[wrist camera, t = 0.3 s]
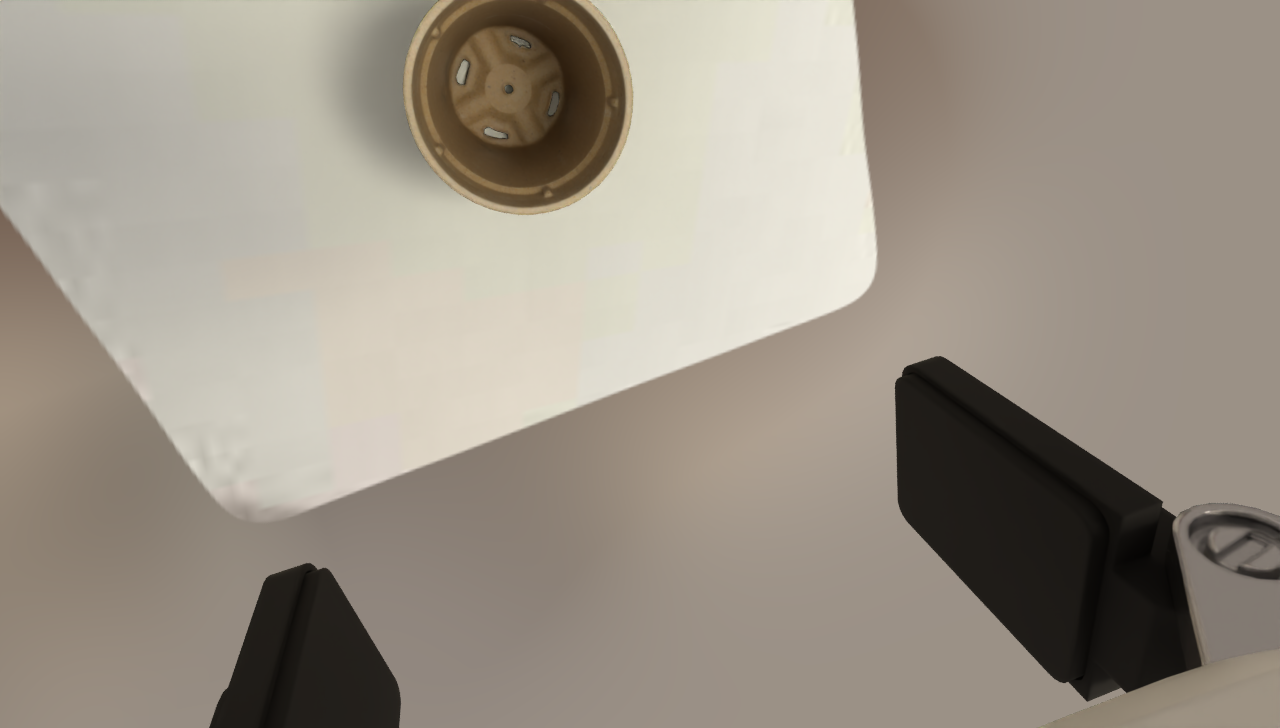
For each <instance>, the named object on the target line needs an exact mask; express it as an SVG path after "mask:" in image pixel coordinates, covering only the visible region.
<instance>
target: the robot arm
mask: <svg viewBox="0 0 1280 728" xmlns="http://www.w3.org/2000/svg"><path fill="white" fill-rule="evenodd" d="M895 402H896V404H895V405H896V443H897V444H896V445H897V486H898V504H899V507H900V510H901V512H902V515H903V516H904V518H905V519H906V521H907V522H908V523H909V524H910V525H911V526H912V527H913V528H914V530H916V532H917V533H918V534H919V535H920V536H921V537H922V538H923V539H924V540H925V541H926V542H927V543H928V545H929V546H930V547H931V548H932V549H933V550H934V551H935V552H936V553H937V554H938V555H939V556H940V557H941V558H942V560H943V561H944V562H946V564H947V565H948V566H949V567H950V568H951V569H952V570H953V571H954V572H955V573H956V575H957V576H959V578H960V579H961V580H962V581H963V582H964V583H965V584H966V585H967V586H968V587H969V588H970V589H971V591H972V592H973V593H974V594H975V595H976V596H977V597H978V598H979V599H980V600H981V601H982V602H983V603H984V605H985V606H986V607H987V608H988V609H989V610H990V611H991V612H992V613H993V614H994V615H995V616H996V617H997V618H998V619H999V621H1000V622H1001V623H1002V624H1003V625H1004V626H1005V627H1006V628H1007V629H1008V630H1009V631H1010V632H1011V634H1013V636H1014V637H1015V638H1016V639H1017V640H1018V641H1019V642H1020V643H1021V644H1022V645H1023V646H1024V647H1025V648H1026V650H1027V651H1028V652H1029V653H1030V654H1031V655H1032V656H1033V657H1034V658H1035V659H1036V660H1037V661H1038V662H1039V664H1040V665H1042V667H1043V668H1044V669H1045V670H1046V671H1047V672H1048V673H1049V674H1050V675H1051V676H1052V677H1053V678H1054V679H1056V680H1058V681H1059V682H1062V683H1066V682H1069V683H1070V684H1071V685H1072V686H1073V687H1074V688H1075V689H1076V690H1077V692H1079V693H1080V695H1081V696H1083V698H1084V699H1085V700H1086V701H1090V700H1092V699H1095V698H1097V697H1100V696H1102V695H1105V694H1107V693H1109V692H1112V691H1114V690H1117V689H1119V688H1122V689H1123V690H1124V691H1125V692H1126V694H1123V695H1120V696H1118V697H1115V698H1113V699H1110V700H1107V701H1105V702H1102V703H1100V704H1097V705H1094V706H1092V707H1089V708H1087V709H1084V710H1081V711H1079V712H1076V713H1074V714H1071V715H1068V716H1066V717H1063V718H1061V719H1058V720H1056V721H1053V722H1051V723H1048V724H1046V725H1044V726H1041V727H1039V728H1280V516H1278V515H1275V514H1272V513H1269V512H1266V511H1263V510H1260V509H1257V508H1253V507H1248V506H1243V505H1237V504H1228V503H1225V504H1224V503H1209V504H1203V505H1196V506H1193V507H1191V508H1189V509H1187V510H1185V511H1183V512H1181V513H1180V514H1179V515H1178V516H1177V517H1176V516H1174V515H1173V514H1171V513H1170V512H1168V511H1167V510H1165V509H1164V508H1162V503H1163V502H1162V501H1161V500H1160V499H1158V498H1157V497H1155V496H1154V495H1152V494H1151V493H1149V492H1148V491H1146V490H1144V489H1143V488H1142V487H1140V486H1139V485H1137V484H1135V483H1134V482H1132V481H1131V480H1129V479H1128V478H1126V477H1125V476H1123V475H1122V474H1120V473H1119V472H1117V471H1116V470H1114V469H1113V468H1111V467H1110V466H1108V465H1107V464H1105V463H1104V462H1102V461H1101V460H1099V459H1098V458H1096V457H1095V456H1093V455H1091V454H1090V453H1088V452H1087V451H1085V450H1084V449H1082V448H1081V447H1079V446H1078V445H1076V444H1075V443H1073V442H1072V441H1070V440H1069V439H1067V438H1066V437H1064V436H1063V435H1061V434H1059V433H1058V432H1057V431H1055V430H1053V429H1052V428H1051V427H1049V426H1048V425H1046V424H1044V423H1043V422H1041V421H1040V420H1038V419H1037V418H1035V417H1034V416H1032V415H1031V414H1029V413H1028V412H1026V411H1025V410H1023V409H1022V408H1020V407H1019V406H1017V405H1016V404H1014V403H1013V402H1011V401H1010V400H1008V399H1006V398H1005V397H1004V396H1002V395H1000V394H999V393H997V392H996V391H994V390H993V389H991V388H990V387H988V386H987V385H985V384H984V383H982V382H980V381H979V380H978V379H976V378H975V377H973V376H972V375H970V374H969V373H967V372H966V371H964V370H963V369H961V368H960V367H958V366H956V365H955V364H953V363H952V362H950V361H949V360H947V359H946V358H944V357H941V356H939V357H938V356H936V357H934V358H930V359H927V360H924V361H921V362H918V363H915V364H912V365H909V366H907V367H905V368H904V370H903V372H902V377H900V378H898V379H897V381H896V383H895ZM400 706H401V699H400V692H399V687H398V684H397V681H396V679H395V677H394V676H393V674H392V672H391V671H390V669H389V667H388V666H387V664H386V662H385V661H384V659H383V657H382V656H381V654H380V652H379V651H378V649H377V648H376V646H375V644H374V643H373V641H372V639H371V638H370V636H369V634H368V633H367V631H366V629H365V628H364V626H363V624H362V623H361V621H360V619H359V618H358V616H357V614H356V613H355V611H354V609H353V608H352V606H351V604H350V603H349V601H348V600H347V598H346V596H345V595H344V593H343V591H342V589H341V588H340V586H339V585H338V583H337V581H336V580H335V578H334V576H333V575H332V573H331V572H330V571H329V570H328V569H327V568H322V569H319V570H317V568H316V567H315V566H314V565H312V564H311V563H306V564H303V565H300V566H297V567H294V568H291V569H288V570H285V571H282V572H279V573H276V574H272V575H270V576H268V577H267V578H266V580H265V581H264V583H263V586H262V589H261V592H260V595H259V598H258V601H257V604H256V607H255V610H254V613H253V616H252V619H251V622H250V625H249V628H248V631H247V633H246V636H245V639H244V642H243V646H242V648H241V651H240V654H239V657H238V660H237V663H236V666H235V669H234V672H233V675H232V678H231V681H230V684H229V687H228V688H227V689H226V690H225V691H224V692H223V694H222V696H221V698H220V700H219V702H218V704H217V707H216V710H215V713H214V715H213V718H212V721H211V724H210V727H209V728H399V721H400Z"/></svg>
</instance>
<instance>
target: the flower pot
mask: <svg viewBox="0 0 1280 728" xmlns="http://www.w3.org/2000/svg"><path fill="white" fill-rule="evenodd" d="M511 36H514V37H518V38H521V39H524V40H526V41H528V42H529V43H530V45H531V48H527V47H525V46H521V47H518V46H519V45H518V44H517V43H515V42H512V41H511ZM464 59H465V60H466V61H468V62H469V63H470V67H469V71H468V74H467V77H466V84H465V85H461V84H459V83H458V82H457V79H456V76H457V73H458V70H459V68H460V66H461V63H462V61H463V60H464ZM506 85H511V86H512V88H513V91H512V93H506V91H505V86H506ZM553 92H557V93H558V94H559V104H558V106H557V110H556V112H555V113H554V114H553V115H552V116H549V115H548V111H549V107H550V103H551V100H552V94H553ZM403 96H404V105H405V110H406V116H407V120H408V123H409V127H410V130H411V132H412V135H413V137H414V139H415V142H416V144H417V146H418V148H419V150H420V151H421V153H422V155H423V157H424V158H425V160H426V161H427V162H428V164H429V165H430V167H431V168H432V169H433V170H434V172H435V173H436V174H437V175H438V176H439V177H440V178H441V179H442V180H443V181H444V182H445V183H446V184H447V185H448V186H449V187H450V188H452V189H453V190H454V191H456V192H457V193H459V194H460V195H462V196H463V197H465V198H467V199H469V200H471V201H472V202H474V203H476V204H479V205H482V206H484V207H486V208H489V209H492V210H496V211H500V212H504V213H510V214H518V215H533V214H540V213H546V212H550V211H554V210H558V209H561V208H563V207H566V206H569V205H571V204H572V203H575V202H577V201H578V200H580V199H581V198H583V197H585V196H586V195H587V194H589V193H590V192H591V191H592V190H594V189H595V188H596V187H597V186H599V185H600V184H601V182H602V181H603V180H604V179H605V178H606V176H607V175H608V174H609V173H610V171H611V170H612V169H613V167H614V166H615V164H616V162H617V160H618V159H619V157H620V154H621V152H622V150H623V148H624V145H625V143H626V139H627V136H628V133H629V128H630V124H631V118H632V109H633V89H632V79H631V74H630V70H629V65H628V61H627V59H626V56H625V53H624V50H623V48H622V46H621V43H620V41H619V39H618V37H617V35H616V33H615V32H614V30H613V28H612V27H611V25H610V23H609V22H608V21H607V20H606V18H605V17H604V16H603V15H602V13H601V12H600V11H599V10H598V9H597V8H596V7H595V6H594V5H593V4H592V3H591V2H590V1H588V0H438V1H437V2H436V3H435V5H434V6H433V7H432V8H431V9H430V10H429V11H428V13H427V14H426V15H425V17H424V18H423V20H422V21H421V23H420V25H419V27H418V28H417V30H416V32H415V34H414V37H413V39H412V41H411V44H410V48H409V51H408V53H407V57H406V62H405V67H404V76H403ZM487 127H490V128H492V129H494V130H496V131H499V132H503V133H506V134H507V135H508V138H507V139H506V138H502V139H499V138H494V137H491V136H487V135H486V134H484V129H485V128H487Z"/></svg>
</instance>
